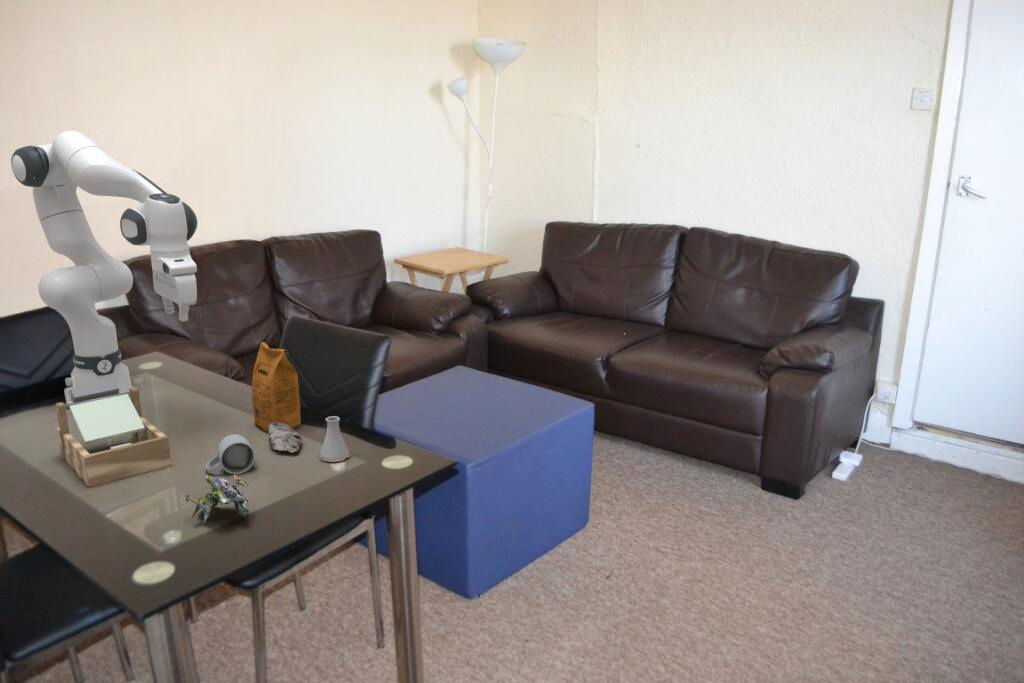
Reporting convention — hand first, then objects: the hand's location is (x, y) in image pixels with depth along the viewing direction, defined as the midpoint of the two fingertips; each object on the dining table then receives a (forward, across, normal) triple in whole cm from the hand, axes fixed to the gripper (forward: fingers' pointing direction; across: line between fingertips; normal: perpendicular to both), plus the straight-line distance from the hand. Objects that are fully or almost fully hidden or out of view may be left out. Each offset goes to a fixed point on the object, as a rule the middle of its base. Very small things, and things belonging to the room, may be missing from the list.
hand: (176, 316), depth 203 cm
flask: (+30, +39, +21) cm, 53 cm away
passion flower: (+30, +51, -12) cm, 61 cm away
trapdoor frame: (+31, +7, -20) cm, 37 cm away
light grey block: (+25, +13, -19) cm, 35 cm away
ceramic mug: (+31, +29, -1) cm, 42 cm away
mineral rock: (+31, +24, +15) cm, 42 cm away
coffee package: (+31, +11, +19) cm, 38 cm away
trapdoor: (+21, +2, -20) cm, 29 cm away
